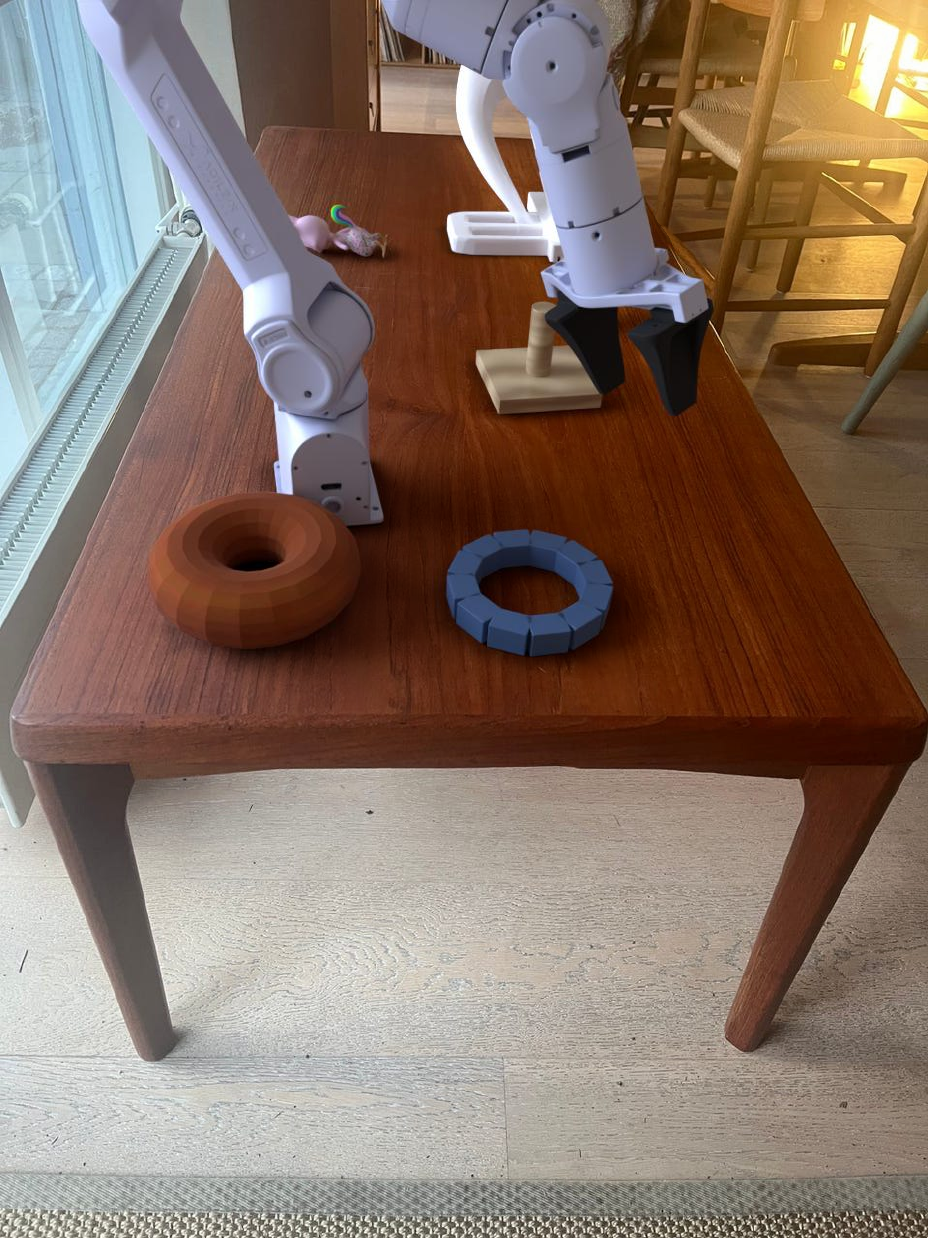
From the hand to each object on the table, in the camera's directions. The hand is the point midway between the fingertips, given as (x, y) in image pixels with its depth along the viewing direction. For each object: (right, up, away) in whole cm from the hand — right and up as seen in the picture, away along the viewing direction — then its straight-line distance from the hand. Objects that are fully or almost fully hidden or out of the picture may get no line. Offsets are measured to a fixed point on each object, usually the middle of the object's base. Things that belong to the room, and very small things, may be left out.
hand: (646, 397), depth 70 cm
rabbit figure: (-30, +28, +48) cm, 63 cm away
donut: (-28, -14, +1) cm, 31 cm away
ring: (-8, -14, +2) cm, 17 cm away
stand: (-6, +7, +26) cm, 27 cm away
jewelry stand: (-8, +35, +57) cm, 68 cm away
